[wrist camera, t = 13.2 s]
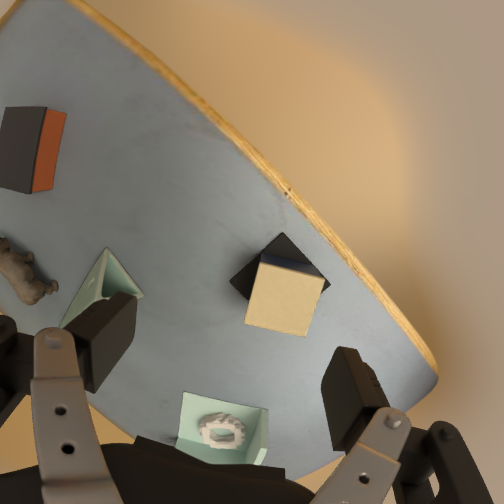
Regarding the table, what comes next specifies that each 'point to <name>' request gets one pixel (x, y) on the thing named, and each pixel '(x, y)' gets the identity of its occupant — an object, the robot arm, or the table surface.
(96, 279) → the planter
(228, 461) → the right angle wall
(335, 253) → the table surface
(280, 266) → the top container
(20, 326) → the table surface
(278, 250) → the mat
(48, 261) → the table surface
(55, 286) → the rhino figurine
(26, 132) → the bottom container
